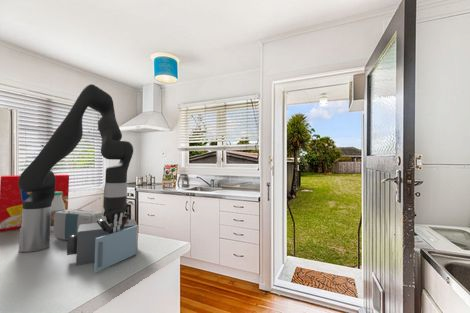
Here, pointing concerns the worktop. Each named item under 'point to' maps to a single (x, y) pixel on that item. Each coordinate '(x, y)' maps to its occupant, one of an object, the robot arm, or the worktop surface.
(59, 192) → the milk bottle
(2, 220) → the red cardboard box
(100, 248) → the side door
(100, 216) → the stereo radio cassette player
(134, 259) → the worktop surface
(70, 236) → the camera housing
